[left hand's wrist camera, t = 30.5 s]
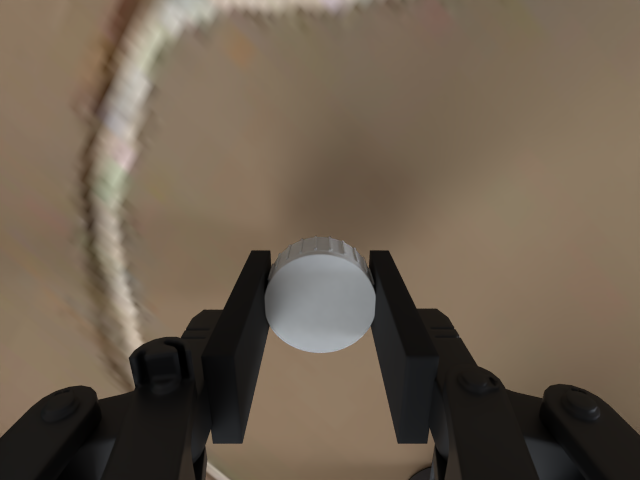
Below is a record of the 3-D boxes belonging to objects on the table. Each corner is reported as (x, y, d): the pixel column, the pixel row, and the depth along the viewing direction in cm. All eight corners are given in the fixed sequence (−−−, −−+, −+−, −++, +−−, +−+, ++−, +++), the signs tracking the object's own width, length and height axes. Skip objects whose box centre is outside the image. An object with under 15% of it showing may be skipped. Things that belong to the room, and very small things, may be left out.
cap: (303, 215, 14) (301, 230, 12) (391, 269, 14) (401, 291, 13) (250, 296, 15) (241, 321, 13) (334, 342, 16) (336, 371, 14)
